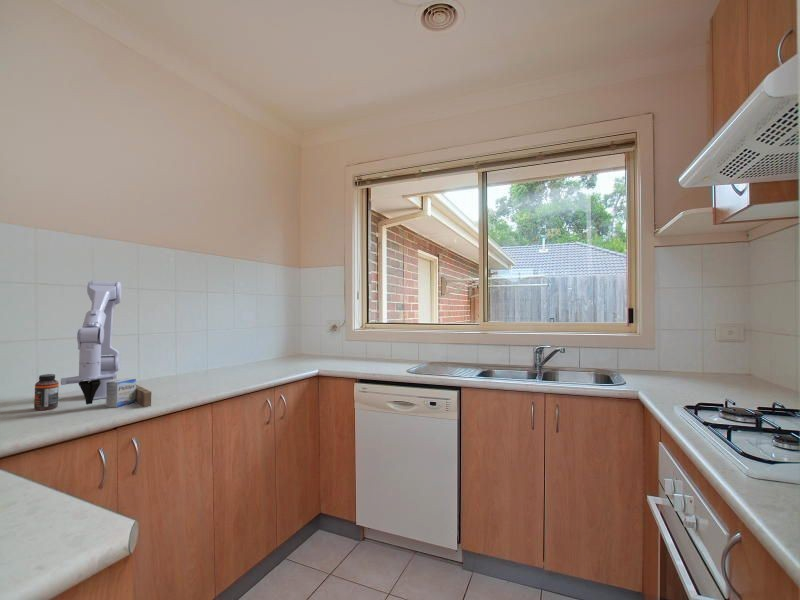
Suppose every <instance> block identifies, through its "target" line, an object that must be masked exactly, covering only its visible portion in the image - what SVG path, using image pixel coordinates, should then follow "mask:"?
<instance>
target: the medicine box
mask: <svg viewBox="0 0 800 600" xmlns="http://www.w3.org/2000/svg"><path fill="white" fill-rule="evenodd" d="M136 385H137V379H136V378H134V377H133V378H132V377H129V378H128V377H127V378H122V379H118V380H117V379H115V381H111V382H107V390H106V398H105V400H106V401H105V403H106V407H107V408H116V409H117V408H120V407H124V406H128V405H132V404H134V403H136Z"/></svg>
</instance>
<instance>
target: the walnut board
mask: <svg viewBox="0 0 800 600" xmlns="http://www.w3.org/2000/svg"><path fill="white" fill-rule="evenodd" d="M135 403H136V404H137V405H139V406H142V407H143V408H148V406H150V407H152V391H150V390H148V389H146V388H144V387H142V386H140V385H138V384H136V402H135Z"/></svg>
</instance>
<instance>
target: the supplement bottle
mask: <svg viewBox="0 0 800 600" xmlns="http://www.w3.org/2000/svg"><path fill="white" fill-rule="evenodd" d="M59 386H60V385H59V381H58V380H57V379H56V374H54V373H46V374H40V375H39V377H38V381H37V382H36V383H35V384H34V398H33V399H34V400H33V402H34V404H33V405H34V406H33V409H34V411H49V410H55V409H56V408H58V406H59V388H60V387H59Z"/></svg>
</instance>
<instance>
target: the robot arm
mask: <svg viewBox="0 0 800 600" xmlns="http://www.w3.org/2000/svg"><path fill="white" fill-rule="evenodd" d="M122 286H123V285H122V283H121V282H120V281H101V280H89V281H88V282H87V286H86V287H87V288H86V292H87V295H88V297H89V300H90V301H91V309H90V310H88V311H87V312H86V313H85V316H84V319H83V323H82V327H81V328H78V329H77V332H76V333H77V334H76V340H77V349H78V350H79V352H78V354H79V355H78V357H79V359H78V375H77V376H71V377H61V378H60V385H61V386H65V385H72V384H78V385H79V388H80V389H81V391H82V394H83V396H84V401H85V404H86V405H92V404H93V402H94V400H99V399H106V390H107V382H111V381H116V380H117V372H119V370H120V368H121V353H120V351H119V350H118V349H116V348H115V347H113V331H114V329H113V327H114V311H115V307H116V305H119V304H120V303H121V301H122V292H123V291H122Z"/></svg>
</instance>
